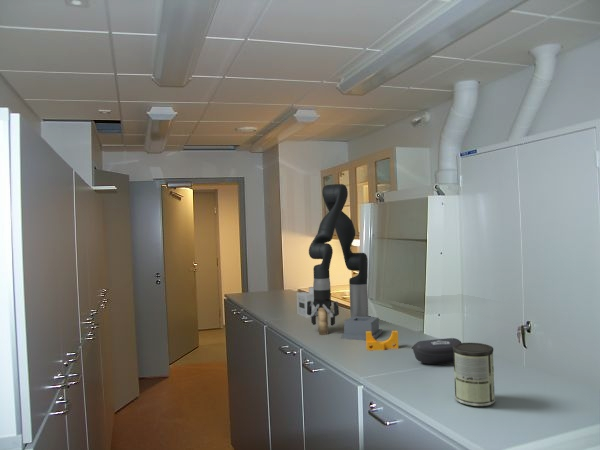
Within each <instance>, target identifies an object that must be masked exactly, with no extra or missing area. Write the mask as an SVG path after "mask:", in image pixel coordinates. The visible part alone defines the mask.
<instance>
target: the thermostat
mask: <svg viewBox="0 0 600 450" xmlns="http://www.w3.org/2000/svg"><path fill="white" fill-rule="evenodd" d="M308 301H313V302H314V288H313V286H310V287H308V292H306V291H302V292H296V309H297V310H296V313H297V315H298V314H299V315H298V316H301V317H303V316H304V317H303V318H306V319H310V318H311V316H310V315H307V302H308ZM314 309H315V306H314V305H312V312H313V310H314ZM315 316H316V317H317V316H318V312H317V313H316V314H315Z"/></svg>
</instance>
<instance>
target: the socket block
mask: <svg viewBox="0 0 600 450" xmlns="http://www.w3.org/2000/svg"><path fill="white" fill-rule="evenodd" d="M379 320H380V318H379V317H378V316H368V317H359V316H352V317H351V316H349V318H347V319H345V320H344V321H343V333H342V334H340V339H345V340H360V341H366V331H371V333H372V336H373V338H374V339H375V340H377V338H379V336H380V335H381V334H382V333H383V329H382V328H380V326H379V325H380V322H379Z"/></svg>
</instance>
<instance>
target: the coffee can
mask: <svg viewBox="0 0 600 450" xmlns="http://www.w3.org/2000/svg"><path fill="white" fill-rule="evenodd" d="M453 352H454V362H453V370H454V371H453V372H454V373H453V375H454V392H455V393H454V399H455V400H456V401H457V402H458V403H461V404H463V405H466V406H474V407H486V406H491V405H493V404H494V403H495V402H496V398H495V397H496V396H495V376H494V375H495V374H494V373H495V372H494V371H495V369H494V347H493V346H491V345H489V344H486V343H479V342H461V343H459V344H456V345H454V346H453Z"/></svg>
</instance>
